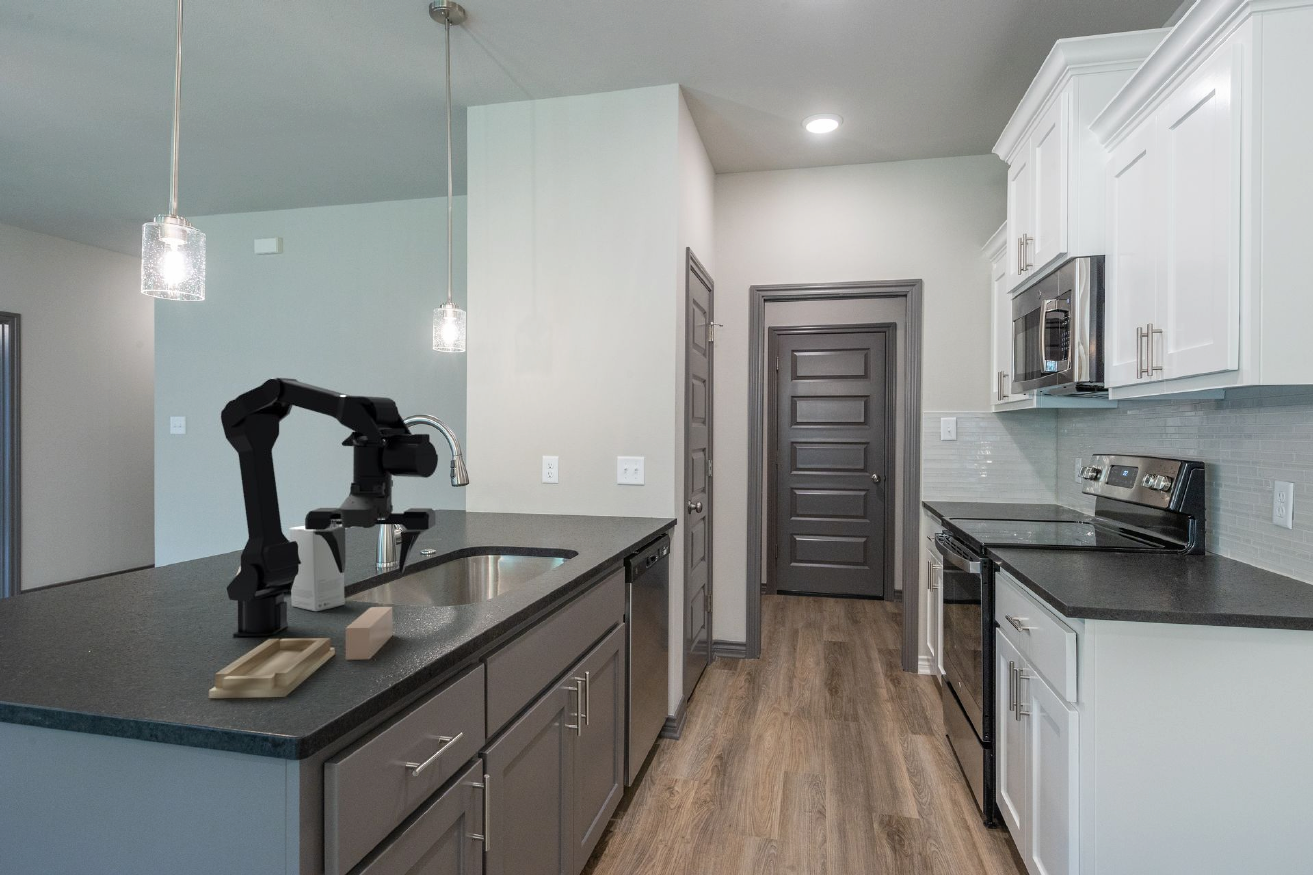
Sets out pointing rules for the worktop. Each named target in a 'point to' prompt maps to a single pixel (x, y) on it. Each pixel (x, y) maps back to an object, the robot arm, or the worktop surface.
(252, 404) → the robot arm
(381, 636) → the clay bar
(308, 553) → the skincare box
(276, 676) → the tray
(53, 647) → the worktop surface
